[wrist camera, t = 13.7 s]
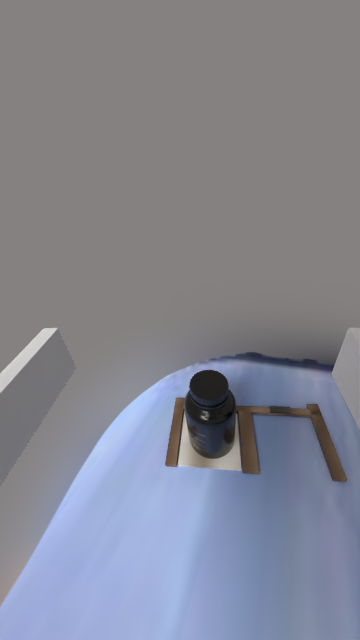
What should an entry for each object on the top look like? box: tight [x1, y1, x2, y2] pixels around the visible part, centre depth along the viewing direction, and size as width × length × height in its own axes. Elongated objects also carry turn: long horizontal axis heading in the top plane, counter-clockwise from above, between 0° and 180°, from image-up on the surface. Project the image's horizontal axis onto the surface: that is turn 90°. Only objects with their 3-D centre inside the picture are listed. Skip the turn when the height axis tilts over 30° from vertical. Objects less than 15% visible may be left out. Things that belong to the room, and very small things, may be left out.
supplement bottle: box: [184, 370, 236, 459], centre depth 33 cm, size 7×7×12 cm
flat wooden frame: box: [165, 398, 347, 482], centre depth 37 cm, size 23×11×1 cm, turn 83°
